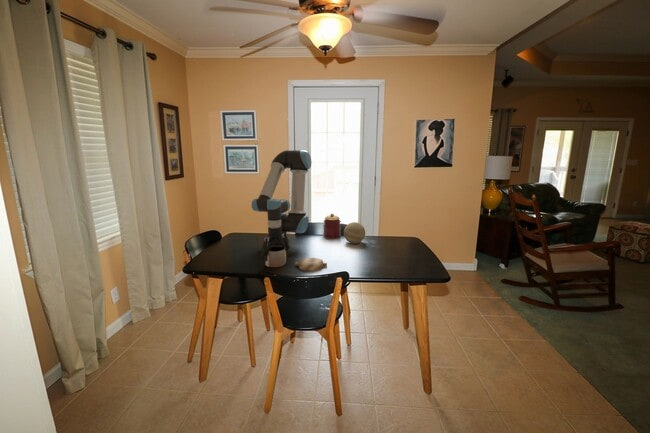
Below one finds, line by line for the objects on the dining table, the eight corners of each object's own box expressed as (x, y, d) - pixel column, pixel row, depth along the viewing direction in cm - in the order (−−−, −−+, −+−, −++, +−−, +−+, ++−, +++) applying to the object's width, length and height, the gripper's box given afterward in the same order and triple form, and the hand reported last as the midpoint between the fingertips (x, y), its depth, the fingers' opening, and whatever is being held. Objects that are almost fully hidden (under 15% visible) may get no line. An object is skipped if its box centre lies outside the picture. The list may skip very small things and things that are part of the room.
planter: (267, 261, 183) (266, 245, 181) (286, 260, 184) (285, 245, 181) (265, 268, 172) (264, 251, 170) (285, 267, 173) (284, 251, 171)
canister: (322, 238, 228) (322, 215, 224) (325, 233, 241) (325, 211, 237) (339, 239, 226) (339, 215, 222) (341, 234, 238) (341, 212, 235)
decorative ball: (350, 238, 227) (351, 219, 223) (368, 242, 218) (369, 221, 215) (339, 243, 215) (339, 223, 212) (358, 247, 206) (358, 226, 203)
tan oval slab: (293, 270, 168) (293, 266, 168) (297, 261, 182) (297, 257, 181) (326, 271, 167) (326, 267, 167) (327, 262, 181) (327, 258, 180)
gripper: (259, 231, 163) (261, 270, 167) (295, 224, 178) (296, 260, 183) (252, 228, 168) (254, 266, 173) (287, 222, 183) (288, 257, 188)
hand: (276, 263), depth 178 cm, fingers closed on planter, 11 cm apart
